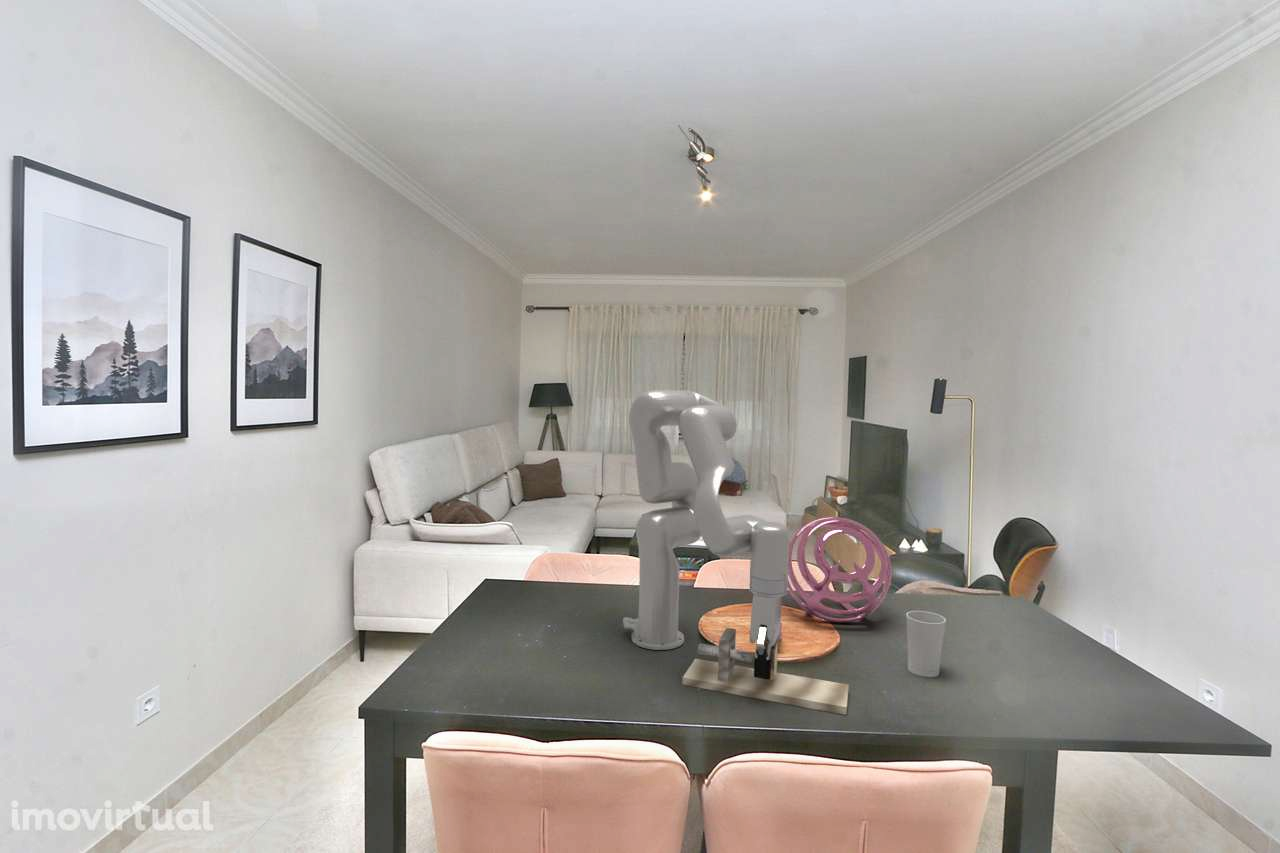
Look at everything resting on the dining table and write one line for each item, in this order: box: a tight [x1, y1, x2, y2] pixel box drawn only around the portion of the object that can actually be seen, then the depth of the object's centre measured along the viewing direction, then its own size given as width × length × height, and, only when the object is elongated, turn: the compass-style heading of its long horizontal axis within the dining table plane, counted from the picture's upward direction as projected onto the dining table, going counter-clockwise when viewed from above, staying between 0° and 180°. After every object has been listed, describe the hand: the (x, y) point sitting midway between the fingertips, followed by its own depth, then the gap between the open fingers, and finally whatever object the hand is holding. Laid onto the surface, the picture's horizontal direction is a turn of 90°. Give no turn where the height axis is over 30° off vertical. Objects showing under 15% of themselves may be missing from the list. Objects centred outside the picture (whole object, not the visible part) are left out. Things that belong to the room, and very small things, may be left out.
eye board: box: [681, 627, 850, 716], centre depth 130 cm, size 32×10×10 cm, turn 70°
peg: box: [697, 641, 779, 680], centre depth 132 cm, size 16×4×6 cm, turn 70°
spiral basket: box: [787, 516, 893, 624], centre depth 174 cm, size 28×28×27 cm
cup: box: [905, 610, 947, 678], centre depth 140 cm, size 8×8×12 cm
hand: (765, 668), depth 130 cm, fingers open, 8 cm apart
